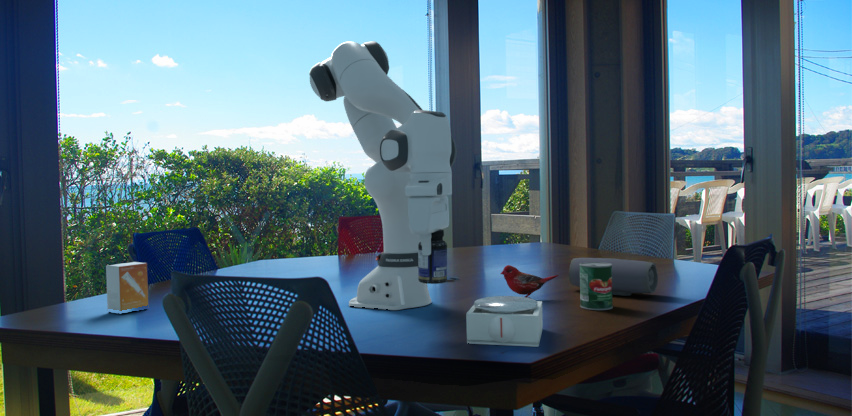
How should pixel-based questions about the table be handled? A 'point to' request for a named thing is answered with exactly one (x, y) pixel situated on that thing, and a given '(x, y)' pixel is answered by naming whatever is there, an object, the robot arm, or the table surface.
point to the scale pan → (506, 304)
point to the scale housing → (505, 327)
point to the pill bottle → (433, 261)
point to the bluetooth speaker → (622, 275)
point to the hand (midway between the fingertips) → (431, 252)
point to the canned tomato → (596, 285)
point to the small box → (127, 285)
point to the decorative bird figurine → (523, 281)
